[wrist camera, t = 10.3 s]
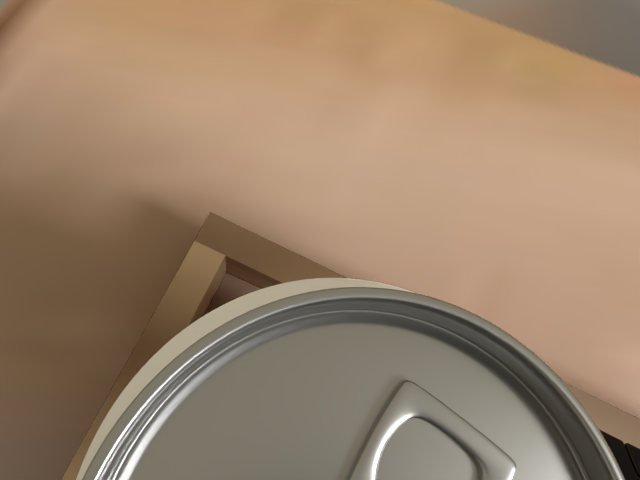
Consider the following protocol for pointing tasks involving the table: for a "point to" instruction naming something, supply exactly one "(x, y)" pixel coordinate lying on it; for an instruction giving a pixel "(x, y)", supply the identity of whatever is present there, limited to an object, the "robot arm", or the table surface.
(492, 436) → the can
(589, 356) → the table surface
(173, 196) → the table surface
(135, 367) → the puzzle board
